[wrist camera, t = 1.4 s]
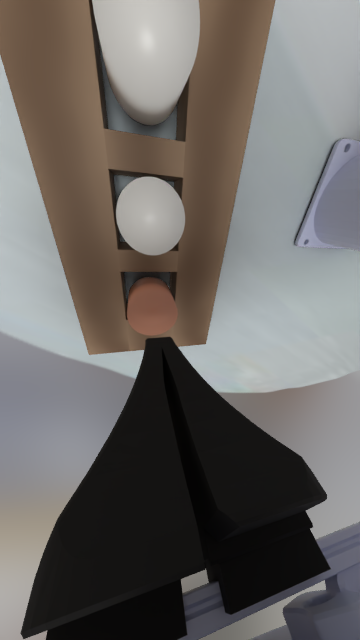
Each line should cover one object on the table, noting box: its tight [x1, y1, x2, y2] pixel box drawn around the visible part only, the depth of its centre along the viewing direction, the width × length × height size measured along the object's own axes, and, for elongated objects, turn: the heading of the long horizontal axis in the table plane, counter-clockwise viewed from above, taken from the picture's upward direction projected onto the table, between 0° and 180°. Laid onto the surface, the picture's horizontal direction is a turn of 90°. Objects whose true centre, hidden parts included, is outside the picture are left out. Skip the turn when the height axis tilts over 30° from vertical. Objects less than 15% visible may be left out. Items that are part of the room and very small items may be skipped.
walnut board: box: [0, 0, 275, 355], centre depth 13 cm, size 12×24×3 cm, turn 175°
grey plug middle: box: [116, 177, 185, 255], centre depth 11 cm, size 4×4×3 cm
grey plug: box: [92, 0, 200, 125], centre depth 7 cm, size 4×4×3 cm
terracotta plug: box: [127, 277, 178, 336], centre depth 14 cm, size 4×4×3 cm
